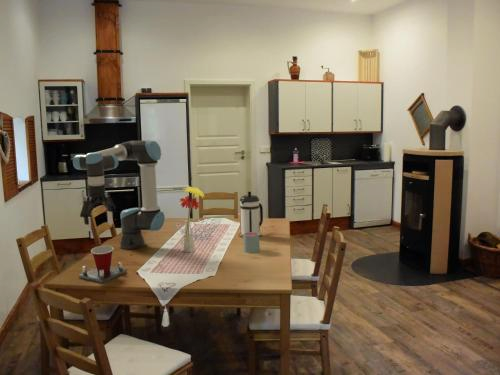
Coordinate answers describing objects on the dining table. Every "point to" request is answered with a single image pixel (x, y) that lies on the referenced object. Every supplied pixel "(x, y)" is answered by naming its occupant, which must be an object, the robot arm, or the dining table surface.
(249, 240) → the mug
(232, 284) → the dining table surface
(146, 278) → the dining table surface
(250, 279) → the dining table surface
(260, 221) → the coffee press
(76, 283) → the dining table surface
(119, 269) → the chassis
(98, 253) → the plastic cup
